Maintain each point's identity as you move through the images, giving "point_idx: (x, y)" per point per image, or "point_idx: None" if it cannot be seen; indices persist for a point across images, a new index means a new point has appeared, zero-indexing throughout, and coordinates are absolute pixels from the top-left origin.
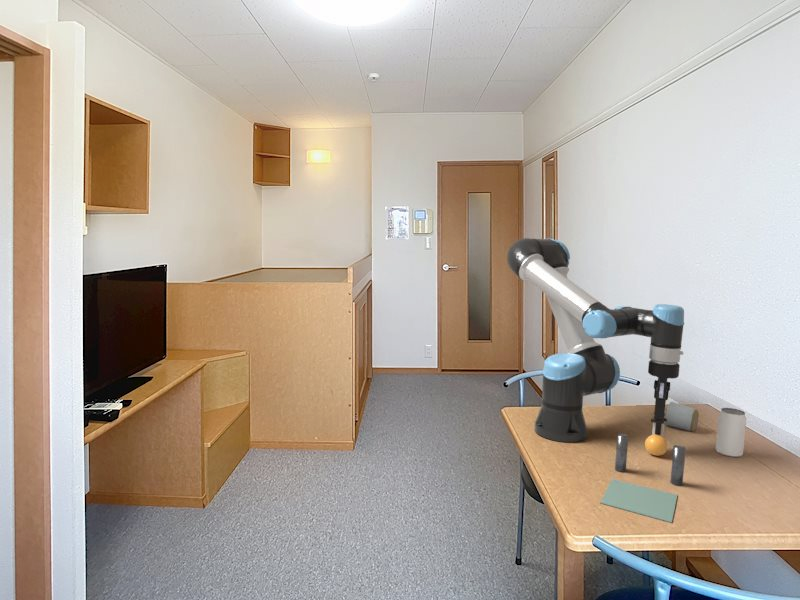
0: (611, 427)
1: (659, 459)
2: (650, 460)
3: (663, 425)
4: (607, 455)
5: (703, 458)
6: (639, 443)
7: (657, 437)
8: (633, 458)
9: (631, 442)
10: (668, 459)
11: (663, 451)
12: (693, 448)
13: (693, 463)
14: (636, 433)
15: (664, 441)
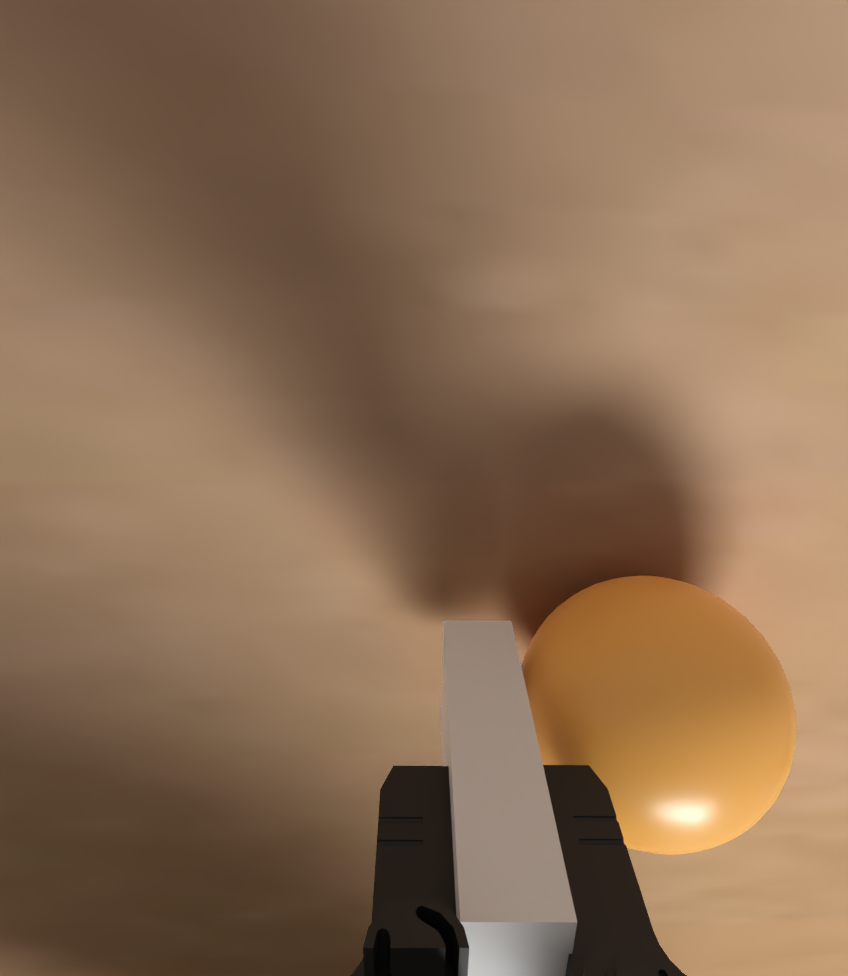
0: (58, 948)
1: (730, 590)
2: (792, 659)
3: (563, 884)
4: (797, 919)
5: (446, 92)
6: (347, 754)
7: (751, 800)
8: (794, 775)
9: (364, 808)
10: (692, 511)
11: (739, 612)
12: (99, 221)
13: (711, 242)
14: (54, 788)
15: (743, 691)
